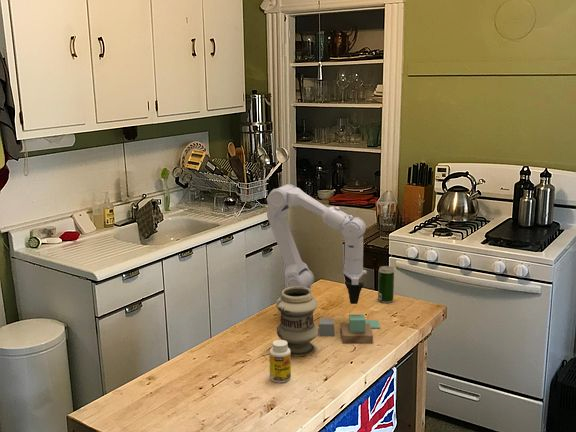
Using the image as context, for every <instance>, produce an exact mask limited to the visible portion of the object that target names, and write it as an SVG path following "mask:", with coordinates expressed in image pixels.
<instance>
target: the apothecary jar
mask: <svg viewBox="0 0 576 432" xmlns="http://www.w3.org/2000/svg"><path fill="white" fill-rule="evenodd" d="M275 305H276V308H277V310H278V311H279V313H280V323H279V324H278V325H277V327H276V334H277V337H278V338H279V340H285V341H287V343H288V348H289V349H290V351H291V356H292V357H304V356H307V355H310V354H312V353H313V352H314V350H315V346H314V345H313V343H311V341H313V340H315V338H316V337H317V336H318V335H319V327H318V326H317V325H316V323H315V321H314V312H315V311H316V309H317V308H318V301H317V299H316V298H315V297H314V296H313V295H312V289H311V290H310V289H309V288H306V287H301V286H294V287H289V288H286V287H285V288H283V289H282V291H281V296H280V297H278V299H277V301H276V303H275Z"/></svg>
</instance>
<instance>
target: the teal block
mask: <svg viewBox="0 0 576 432" xmlns="http://www.w3.org/2000/svg"><path fill="white" fill-rule="evenodd" d="M365 320H366V317H365V314H363V313H361V314H349V315H348V323H349V329H350V333H365Z"/></svg>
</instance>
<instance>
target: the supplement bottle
mask: <svg viewBox="0 0 576 432" xmlns="http://www.w3.org/2000/svg"><path fill="white" fill-rule="evenodd" d="M291 359H292V355H291V351H290V349H289V348H288V343H287V341H285V340H281V339H276V340H274V341H273V342H272V346H271V348H270V350H269V378H270V380H272V381H273V382H274V383H285V382H286V383H287V382H288V381H290V379H291V375H292V373H291V371H292V369H291V368H292V366H291Z"/></svg>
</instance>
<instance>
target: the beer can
mask: <svg viewBox="0 0 576 432" xmlns="http://www.w3.org/2000/svg"><path fill="white" fill-rule="evenodd" d="M377 280H378V281H377V282H378V285H377V287H378V288H377V300H378V302H379V303H382V304H390V303H392V302H393V301H394V296H395V295H394V289H395V288H394V287H395V270H394V267H393V266H389V265H382V266H379V269H378V279H377Z"/></svg>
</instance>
